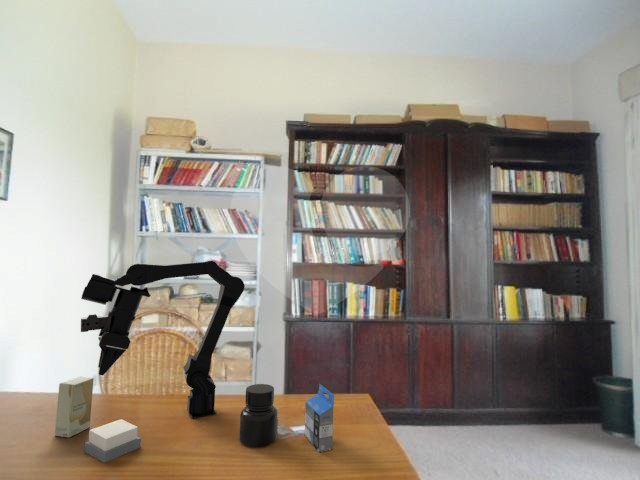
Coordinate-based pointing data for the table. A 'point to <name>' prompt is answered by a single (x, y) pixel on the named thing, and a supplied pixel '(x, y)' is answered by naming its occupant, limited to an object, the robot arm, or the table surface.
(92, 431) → the tower top
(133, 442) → the tower bottom
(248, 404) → the ink bottle
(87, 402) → the skincare box
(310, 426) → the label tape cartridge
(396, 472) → the table surface
